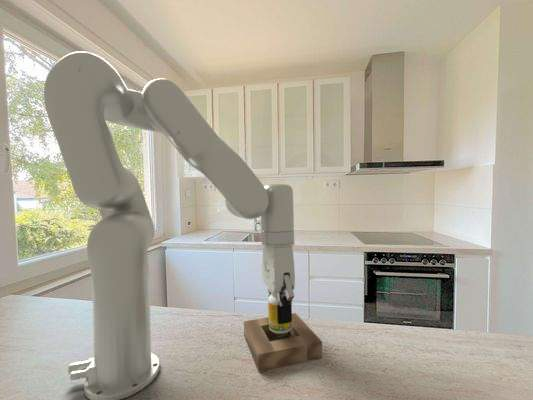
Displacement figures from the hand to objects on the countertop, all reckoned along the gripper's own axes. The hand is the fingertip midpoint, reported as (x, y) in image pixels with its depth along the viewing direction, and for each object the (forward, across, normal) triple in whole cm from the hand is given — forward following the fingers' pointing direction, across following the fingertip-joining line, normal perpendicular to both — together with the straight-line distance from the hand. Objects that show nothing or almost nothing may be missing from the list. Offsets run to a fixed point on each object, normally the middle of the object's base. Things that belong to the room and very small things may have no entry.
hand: (279, 315), depth 57 cm
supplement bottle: (+3, 0, 0) cm, 3 cm away
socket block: (+7, 0, 0) cm, 7 cm away
